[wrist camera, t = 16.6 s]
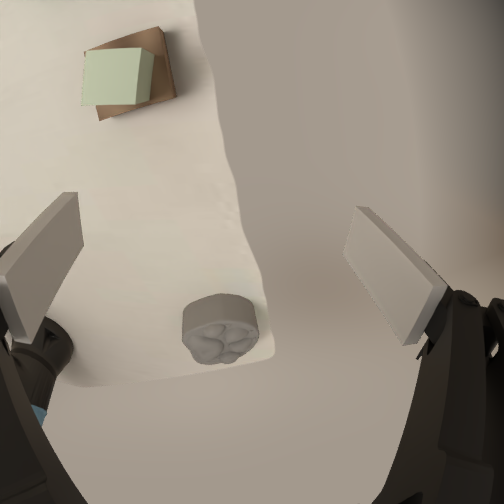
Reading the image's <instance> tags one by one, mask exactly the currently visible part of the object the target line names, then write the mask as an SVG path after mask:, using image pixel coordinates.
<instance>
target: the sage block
mask: <svg viewBox="0 0 504 504" xmlns="http://www.w3.org/2000/svg"><path fill="white" fill-rule="evenodd" d="M154 56H155V55H154V54H152V53H150V52H149V51H147V50H145V49H143V48H117V49H102V50H90V51H86V55H85V64H84V74H83V86H82V101H81V106H90V105H130V104H134V105H135V104H139V103H142V102H146V101H149V99H150V89H151V80H152V71H153V63H154Z"/></svg>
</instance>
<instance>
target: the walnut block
mask: <svg viewBox="0 0 504 504" xmlns="http://www.w3.org/2000/svg"><path fill="white" fill-rule="evenodd" d="M117 48H143V49H145V50H147V51H149V52H150V53H152V54H154V55H155V56H154V63H153V71H152V80H151V89H150V99H149V101H146V102H142V103H139V104H135V105H134V104H130V105H96V109H97V113H98V117H99V121H101V120H104V119H107V118H109V117H112V116H115V115H118V114H121V113H124V112H127V111H131V110H134V109H137V108H140V107H144V106H147V105H151V104H154V103H158V102H161V101H165V100H169V99H173V98H175V97H177V95H176V91H175V86H174V81H173V77H172V72H171V67H170V62H169V57H168V52H167V47H166V42H165V37H164V32H163V31H162V30H161V29H160V28H159V26H158V27H154V28H151V29H147V30H144V31H140V32H137V33H134V34H131V35H128V36H125V37H122V38H119V39H116V40H113V41H111V42H108V43H105V44H103V45H100V46H97V47H95V48H92V49H90V50H102V49H117ZM90 50H87V51H90ZM84 55H86V51H85V52H84Z"/></svg>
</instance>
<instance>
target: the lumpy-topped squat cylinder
mask: <svg viewBox="0 0 504 504" xmlns="http://www.w3.org/2000/svg"><path fill="white" fill-rule="evenodd" d="M258 338H259V330H258V325H257V320H256V316H255V311H254V307H253V304H252V303H251V302H250V301H249V300H248V299H246V298H244V297H242V296H239V295H233V294H215V295H212V296H208V297H205V298H202V299H199V300H197V301H194V302H192V303H190V304H189V305H187V306H186V307H185V309H184V311H183V324H182V342H183V344H184V345H185V346H186V347H187V348H188V349H189V350H190V352H191V354H192V356H193V358H194V360H195V361H196V362H198V363H201V364H207V365H212V364H218V363H224V364H230V363H233V362H235V361H236V360H237V359H238V358H239V357H241V356H243V355H244V354H246V353H247V352H248V351H249V350H251V349H252V348H253V347H254V346H255V344H256V343H257V341H258Z"/></svg>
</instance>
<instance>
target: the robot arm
mask: <svg viewBox="0 0 504 504" xmlns="http://www.w3.org/2000/svg"><path fill="white" fill-rule="evenodd" d="M83 246H84V242H83V235H82V228H81V220H80V212H79V202H78V192H63V193H62V194H61V195H60V196H59V197H58V198H57V199H56V200H55V201H54V202H53V203H52V204H51V205H49V206H48V207H47V208H46V209H45V210H44V211H43V212H42V213H41V214H40V215H39V216H38V217H37V218H36V219H35V220H34V221H33V222H32V224H31V225H30V226H29V227H28V228H27V229H26V230H25V231H24V232H23V233H22V234H21V235H20V236H19V237H18V238H17V240H16V241H14V242H12V243H11V244H9V245H8V246H6V247H5V248H4V249H3V250H2V251H1V252H0V504H88V503H87V502H86V500H85V499H84V498H83V497H82V495H81V493H80V492H79V490H78V489H77V488H76V486H75V484H74V483H73V481H72V480H71V478H70V477H69V475H68V474H67V472H66V470H65V469H64V467H63V465H62V464H61V462H60V460H59V459H58V457H57V455H56V453H55V452H54V450H53V448H52V446H51V445H50V443H49V441H48V439H47V437H46V435H45V433H44V431H43V429H42V424H43V421H44V418H45V416H46V415H47V409H48V405H49V401H50V398H51V394H52V391H53V387H54V384H55V381H56V378H57V376H58V375H59V373H60V372H61V371H62V370H63V368H64V367H65V366H66V365H67V364H68V363H69V361H70V359H71V356H72V353H73V344H72V341H71V339H70V337H69V336H68V334H67V333H66V332H65V331H64V330H63V329H62V328H61V327H60V326H59V325H58V324H56V323H55V322H54V321H52V320H50V319H48V318H46V317H44V316H45V314H46V312H47V310H48V308H49V307H50V305H51V303H52V301H53V299H54V297H55V295H56V293H57V291H58V289H59V288H60V286H61V284H62V282H63V280H64V279H65V277H66V275H67V273H68V271H69V270H70V268H71V266H72V265H73V263H74V261H75V259H76V258H77V256H78V254H79V253H80V251H81V249H82V248H83ZM343 256H344V257H345V259H346V260H347V262H348V263H349V264H350V266H351V267H352V269H353V270H354V272H355V273H356V275H357V276H358V278H359V279H360V281H361V282H362V284H363V285H364V287H365V288H366V290H367V291H368V292H369V294H370V295H371V297H372V299H373V300H374V302H375V303H376V305H377V306H378V308H379V309H380V311H381V312H382V314H383V316H384V317H385V319H386V320H387V322H388V323H389V325H390V326H391V328H392V330H393V331H394V333H395V334H396V336H397V338H398V339H399V341H400V342H401V344H402V346H404V345H410V344H417V343H418V341H419V339H420V338H421V336H422V334H423V333H424V332H425V333H426V335H427V336H428V337H429V338H428V339H427V341H426V343H425V344H424V346H423V348H422V349H421V351H420V353H419V354H418V356H417V358H416V359H417V360H418V359H419V358H420V356H422V360H421V365H420V370H419V375H418V379H417V383H416V387H415V392H414V396H413V400H412V403H411V407H410V411H409V414H408V418H407V421H406V425H405V428H404V431H403V435H402V438H401V441H400V444H399V447H398V450H397V453H396V456H395V459H394V461H393V464H392V467H391V470H390V472H389V475H388V478H387V480H386V483H385V485H384V487H383V489H382V491H381V493H380V494H379V495H378V496H377V498H376V499H375V500H374V501H373V502H372V504H504V300H502V299H499V298H493V299H492V301H491V302H490V304H489V306H488V308H486V307H481V306H480V304H479V302H478V300H476V298H475V297H473V296H472V295H471V294H469V293H467V292H465V291H462V290H456V291H453V290H452V289H451V288H450V286H449V285H448V284H447V283H446V282H445V281H444V280H443V279H442V278H441V277H440V276H439V275H437V273H436V271H435V270H434V269H432V267H431V266H430V265H429V264H428V263H427V262H426V261H425V260H423V259H422V258H421V257H420V256H419V255H418V254H417V253H416V252H415V251H414V250H413V249H412V248H411V247H410V246H409V245H408V244H407V243H406V242H405V241H404V240H403V239H402V238H401V237H400V236H399V235H398V234H397V233H396V232H395V231H394V230H392V228H390V227H389V226H388V225H387V224H386V223H385V222H384V221H383V220H382V219H381V218H380V217H379V216H378V215H376V214H375V213H374V212H373V211H372V210H371V209H370V208H368V207H360V206H356V207H355V211H354V215H353V218H352V222H351V226H350V230H349V233H348V237H347V240H346V244H345V247H344V251H343ZM8 329H9V331H10V333H11V335H12V346H11V351H10V349H9V346H8V343H7V341H6V339H5V337H4V336H5V334H6V332H7V330H8ZM497 343H498V345H499V347H498V352H497V353H496V354H495V356H494V357H492V355H491V352H492V351H493V349H494V348H495V346H496V345H497Z"/></svg>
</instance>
